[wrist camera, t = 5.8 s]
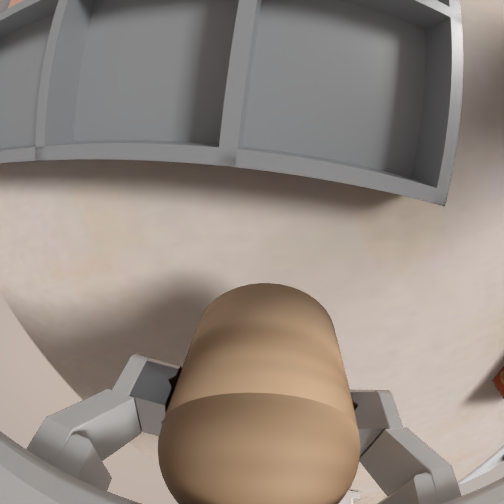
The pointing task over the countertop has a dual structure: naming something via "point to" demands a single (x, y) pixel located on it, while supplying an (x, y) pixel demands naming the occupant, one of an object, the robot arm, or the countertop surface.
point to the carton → (500, 382)
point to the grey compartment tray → (239, 86)
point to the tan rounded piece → (261, 405)
